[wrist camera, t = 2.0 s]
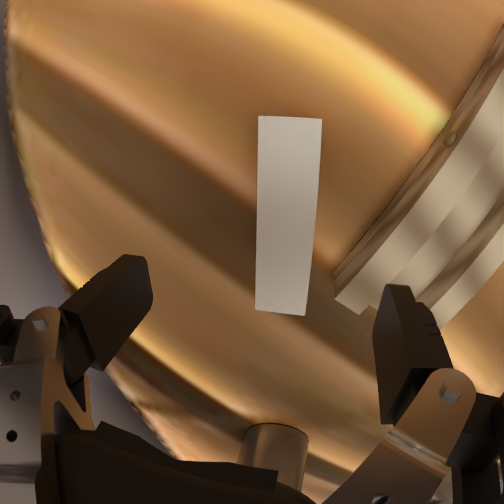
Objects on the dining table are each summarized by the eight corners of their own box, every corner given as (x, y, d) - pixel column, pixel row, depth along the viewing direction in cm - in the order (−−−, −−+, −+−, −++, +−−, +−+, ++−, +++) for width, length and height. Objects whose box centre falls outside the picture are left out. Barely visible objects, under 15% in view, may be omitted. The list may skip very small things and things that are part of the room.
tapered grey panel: (311, 256, 25) (304, 315, 18) (274, 253, 25) (255, 309, 18) (320, 118, 20) (321, 119, 13) (279, 116, 20) (258, 115, 13)
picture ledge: (407, 323, 25) (415, 351, 22) (330, 270, 25) (331, 297, 21) (565, 100, 12) (590, 103, 9) (502, 20, 12) (525, 11, 8)
